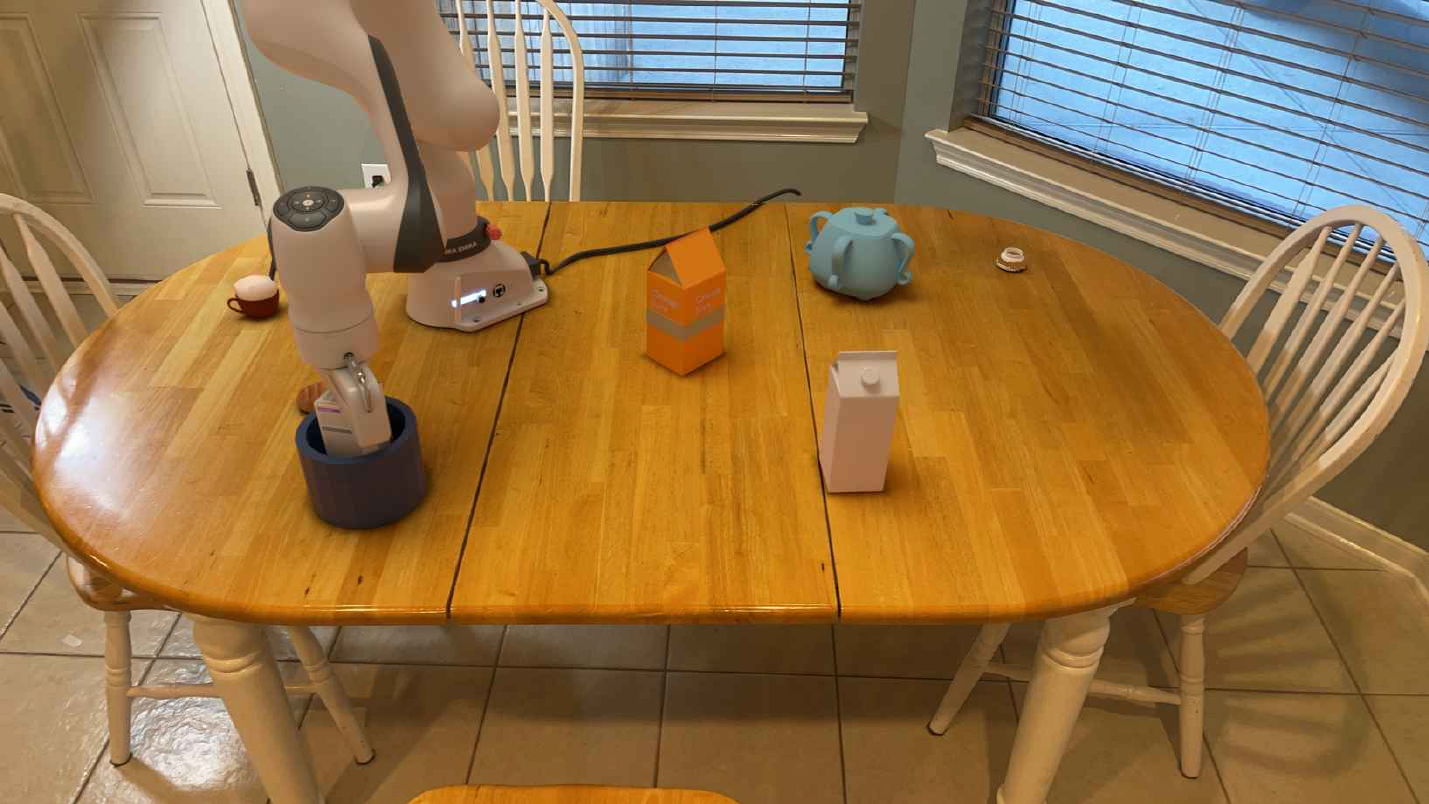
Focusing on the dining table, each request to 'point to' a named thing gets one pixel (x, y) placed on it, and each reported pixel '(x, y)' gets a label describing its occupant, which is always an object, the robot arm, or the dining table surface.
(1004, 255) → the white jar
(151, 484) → the dining table surface
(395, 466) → the dark blue bin
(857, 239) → the decorative pot
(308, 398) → the pastry
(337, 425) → the syrup box
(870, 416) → the milk carton
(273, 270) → the cocoa
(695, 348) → the orange juice
